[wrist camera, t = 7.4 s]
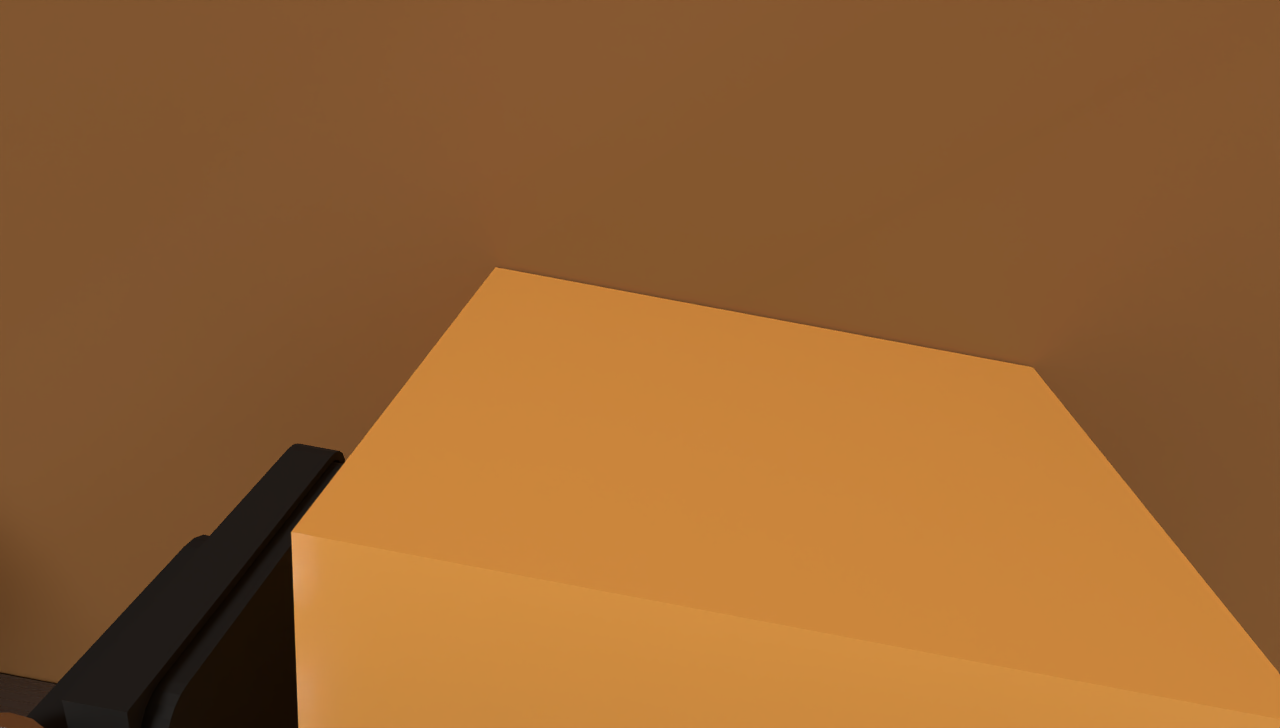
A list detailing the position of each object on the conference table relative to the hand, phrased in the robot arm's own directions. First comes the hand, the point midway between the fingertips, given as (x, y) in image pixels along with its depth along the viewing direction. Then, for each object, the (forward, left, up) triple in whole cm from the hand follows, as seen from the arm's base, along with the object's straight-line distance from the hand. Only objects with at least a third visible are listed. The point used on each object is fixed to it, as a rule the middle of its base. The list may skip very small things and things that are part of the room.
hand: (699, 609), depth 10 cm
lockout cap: (0, 0, -2) cm, 2 cm away
